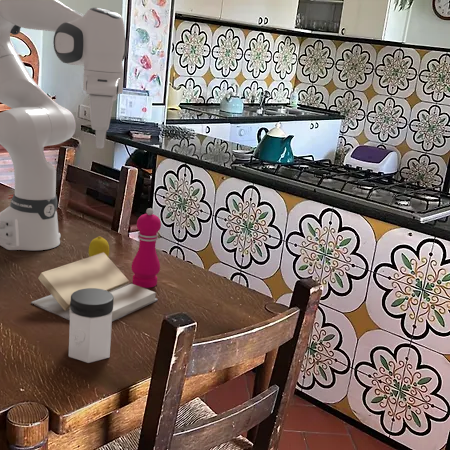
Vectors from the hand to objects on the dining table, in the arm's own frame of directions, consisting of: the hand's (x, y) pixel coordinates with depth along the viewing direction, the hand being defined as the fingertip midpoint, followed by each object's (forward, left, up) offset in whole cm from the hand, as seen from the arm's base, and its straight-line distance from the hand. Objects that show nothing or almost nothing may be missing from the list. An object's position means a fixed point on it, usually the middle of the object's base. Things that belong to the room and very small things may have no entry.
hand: (100, 144), depth 145 cm
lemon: (-9, +11, -36) cm, 38 cm away
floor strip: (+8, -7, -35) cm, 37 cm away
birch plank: (+3, -7, -32) cm, 33 cm away
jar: (+23, -25, -36) cm, 49 cm away
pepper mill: (+8, +10, -36) cm, 38 cm away
